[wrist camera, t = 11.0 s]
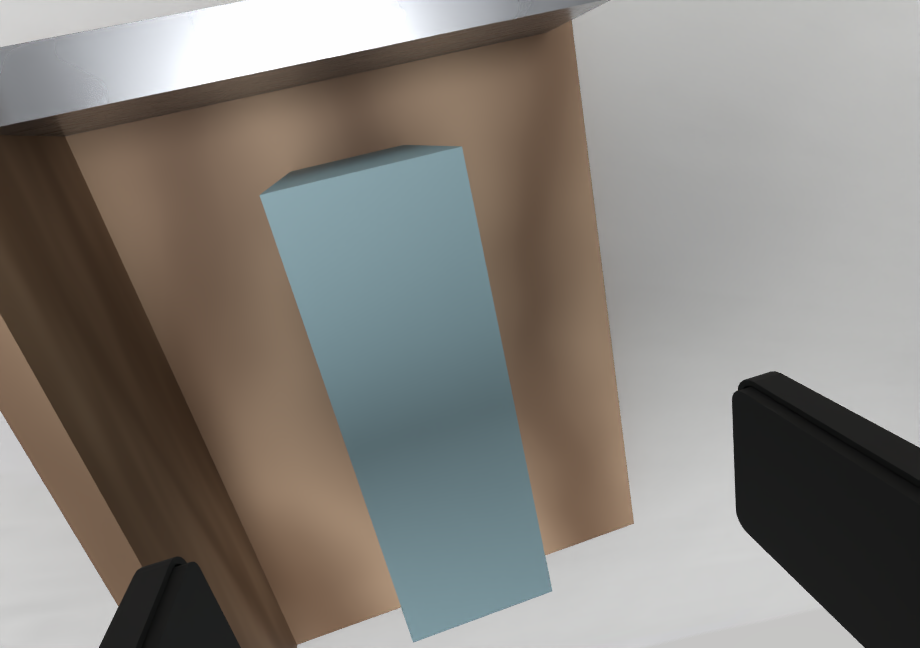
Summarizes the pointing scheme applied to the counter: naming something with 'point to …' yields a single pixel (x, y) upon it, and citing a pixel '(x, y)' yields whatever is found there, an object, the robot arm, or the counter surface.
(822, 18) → the counter surface
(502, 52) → the shelf
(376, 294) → the book
